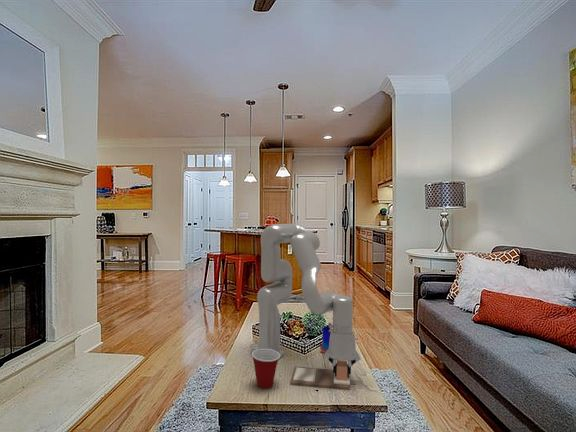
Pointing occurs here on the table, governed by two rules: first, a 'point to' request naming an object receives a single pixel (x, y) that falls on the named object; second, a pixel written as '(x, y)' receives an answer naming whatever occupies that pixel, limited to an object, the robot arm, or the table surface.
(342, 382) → the stub
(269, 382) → the plastic cup
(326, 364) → the table surface
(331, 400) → the table surface
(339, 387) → the board
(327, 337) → the fantasy tower
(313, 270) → the robot arm
